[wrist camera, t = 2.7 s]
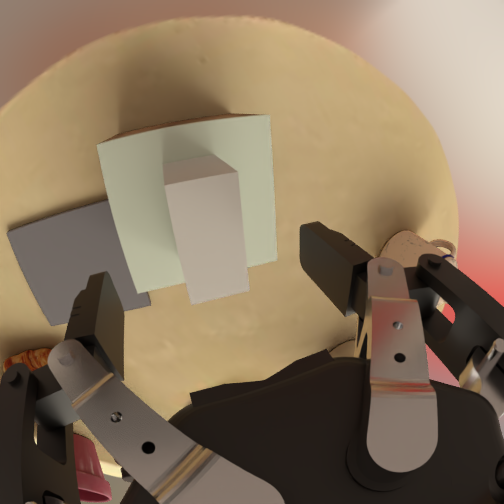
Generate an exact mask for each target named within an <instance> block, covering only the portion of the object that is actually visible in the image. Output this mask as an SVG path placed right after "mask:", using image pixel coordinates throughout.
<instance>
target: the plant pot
mask: <svg viewBox="0 0 504 504" xmlns="http://www.w3.org/2000/svg"><path fill="white" fill-rule="evenodd" d="M73 439H74V455H75V466H76V475H77V483H78V490H79V496H80V501H85V502H108V501H110V500H111V499H112V497H111V489H110V484H109V482H108V481H106V480H105V479H104V475H103V472H102V469H101V466H100V462H99V459H98V456H97V453H96V449H95V445H94V443H93V442H92V441H91V440H89V439H87V438H85V437H83V436H81V435H77V434H73Z"/></svg>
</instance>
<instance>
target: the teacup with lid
mask: <svg viewBox="0 0 504 504" xmlns="http://www.w3.org/2000/svg"><path fill="white" fill-rule="evenodd" d="M437 247H444V248H447V249H449V250H450V251H451V254H450V255H449V254H448V255H447V254H446V253H444V252H443V251H441V250H440V249H438V248H437ZM427 253H428V254H435V255H438V256H441V257H442V258H444V259H445V260H447V261H448V262H449V263H451V264H452V265H453V266H455V267H456V268H457V262H456V260H455V259H454V258H455V255H456V249H455V246H454V245H453V244H452V243H451V242H449V241H446V240H441V239H437V240H433V241H431V242H427V241H426V240H424V239H423V238H421V237H420V236H418V235H416V234H415V233H413V232H411V231H407V230H405V231H401V232H399V233H397V234H395V235H394V236H393V237H392V238H391V239H390V240H389V241H388V242H387V243H386V245H385V246H384V248H383V250H382V252H381V254H380V256H379V257H386V258H390V259H393V260H395V261H397V262H399V263H400V264H401V265H402V266H403V268H405V267H415V266H417V262H418V258H419V257H420V256H421V255H422V254H427ZM457 269H458V268H457ZM444 302H445V303H447V302H446V301H445V300H443V299H442V298H441V297H440V299H439V302H438V304H437V307H438V306H439V305H441V304H442V303H444ZM447 304H448V303H447ZM437 307H436V308H437Z"/></svg>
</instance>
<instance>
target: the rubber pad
mask: <svg viewBox="0 0 504 504" xmlns="http://www.w3.org/2000/svg"><path fill="white" fill-rule="evenodd" d="M7 236H8V238H9V241H10V244H11V246H12V249H13V251H14V254H15V256H16V258H17V261H18V263H19V265H20V267H21V270H22V272H23V274H24V276H25V278H26V280H27V282H28V284H29V287H30V289H31V291H32V292H33V294H34V296H35V298H36V300H37V302H38V304H39V306H40V308H41V309H42V311H43V313H44V315H45V316H46V318H47V320H48V322H49V323H50V325H51V326H55V325H60V324H65V323H68V322H69V318H70V314H71V310H72V307H73V303H74V300H75V298H76V297H77V295H78V294H79V293H80V291H81V290H84V289H86V286H87V282H88V279H89V276H90V275H93V274H97V273H100V272H104V271H107V272H108V273H109V274H110V276H111V279H112V281H113V284H114V286H115V289H116V291H117V294H118V296H119V298H120V301H121V303H122V306H123V310H124V311H128V310H133V309H137V308H142V307H146V306H151V301H150V298H149V295H148V292H143V293H137V290H136V288H135V285H134V282H133V279H132V276H131V273H130V271H129V268H128V265H127V262H126V259H125V255H124V252H123V249H122V246H121V243H120V239H119V236H118V233H117V229H116V226H115V222H114V219H113V215H112V211H111V207H110V204H109V200H108V199H107V200H103V201H99V202H96V203H92V204H89V205H85V206H82V207H78V208H75V209H71V210H68V211H65V212H62V213H59V214H55V215H52V216H49V217H46V218H43V219H40V220H37V221H34V222H31V223H29V224H26V225H23V226H20V227H17V228H15V229H12V230H9V231H8V232H7Z"/></svg>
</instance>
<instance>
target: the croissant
mask: <svg viewBox="0 0 504 504" xmlns="http://www.w3.org/2000/svg"><path fill="white" fill-rule="evenodd" d="M51 351H52V350H51V349H47V348H41V349H38V350H35V351H32V350H27V351H25V352H22V353H20V354H19V355H15V356H12V357H9V358H8V359H6V360H5V362H4V364H3V371H4V373H5V371H6V370H7V369H8V368H9V367H10V366H12V365H13V364H15V363H24V364H26V365H27V366H28V368H29V369H30V370H31V371H34V370H36V369H38V368H40V367H42V366H44V365H46V364H48V356H49V354H50V352H51Z"/></svg>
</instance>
